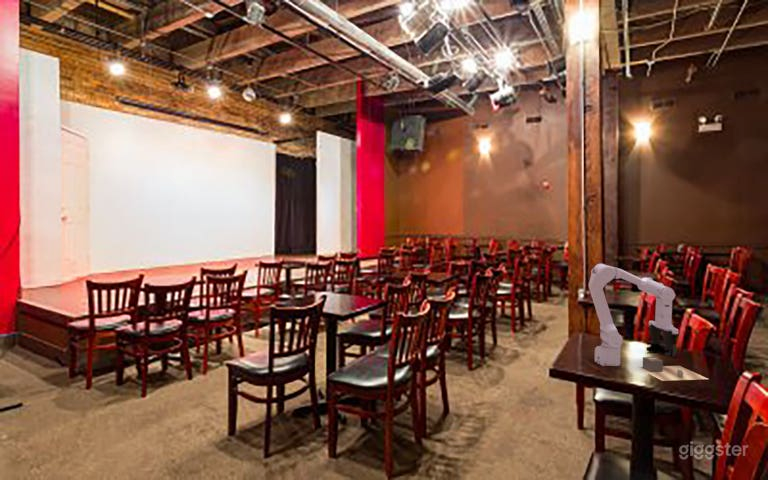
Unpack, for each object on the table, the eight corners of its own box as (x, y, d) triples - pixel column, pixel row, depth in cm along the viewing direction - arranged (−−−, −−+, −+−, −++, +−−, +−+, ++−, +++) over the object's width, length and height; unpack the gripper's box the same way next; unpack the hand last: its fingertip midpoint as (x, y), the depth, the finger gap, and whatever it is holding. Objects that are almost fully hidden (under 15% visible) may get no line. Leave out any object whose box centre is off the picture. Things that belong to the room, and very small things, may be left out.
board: (662, 384, 165) (662, 380, 165) (636, 370, 180) (636, 367, 180) (708, 382, 166) (708, 379, 166) (679, 369, 181) (679, 365, 181)
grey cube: (650, 372, 174) (651, 360, 174) (642, 367, 179) (642, 356, 179) (662, 371, 174) (662, 360, 174) (653, 367, 179) (654, 356, 179)
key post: (683, 377, 168) (683, 372, 168) (678, 377, 169) (678, 372, 168) (681, 374, 171) (681, 369, 171) (677, 374, 171) (677, 369, 171)
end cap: (676, 357, 197) (677, 343, 196) (666, 359, 194) (667, 345, 193) (655, 351, 206) (656, 337, 205) (645, 353, 203) (645, 339, 203)
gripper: (685, 318, 174) (684, 351, 175) (659, 310, 188) (658, 341, 189) (669, 318, 173) (668, 352, 174) (644, 310, 188) (643, 341, 188)
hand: (662, 346), depth 182 cm, fingers open, 7 cm apart
